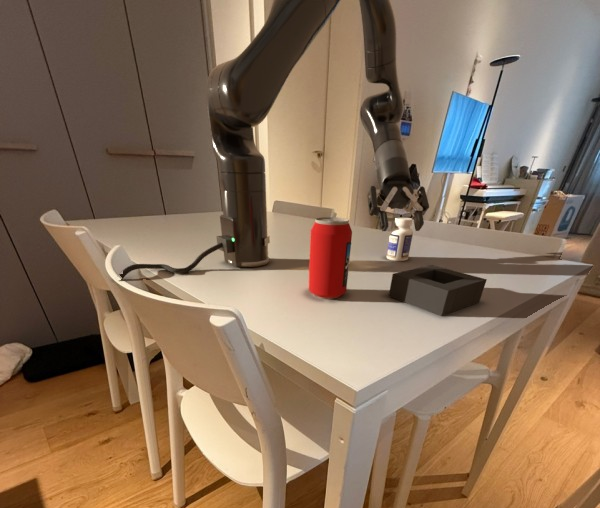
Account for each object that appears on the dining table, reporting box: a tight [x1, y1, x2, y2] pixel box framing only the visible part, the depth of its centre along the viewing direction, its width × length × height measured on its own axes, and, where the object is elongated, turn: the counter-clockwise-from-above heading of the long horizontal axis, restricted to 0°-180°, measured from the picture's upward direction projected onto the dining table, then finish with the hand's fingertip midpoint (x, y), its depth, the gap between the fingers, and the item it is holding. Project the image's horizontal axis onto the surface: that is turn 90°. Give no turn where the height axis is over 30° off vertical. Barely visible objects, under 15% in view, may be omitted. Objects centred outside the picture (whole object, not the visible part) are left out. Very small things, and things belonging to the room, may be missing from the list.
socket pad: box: [388, 264, 488, 317], centre depth 58 cm, size 11×11×4 cm
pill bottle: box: [386, 216, 414, 262], centre depth 81 cm, size 5×5×9 cm
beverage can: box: [308, 216, 353, 300], centre depth 57 cm, size 7×7×12 cm
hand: (402, 229), depth 79 cm, fingers open, 8 cm apart
